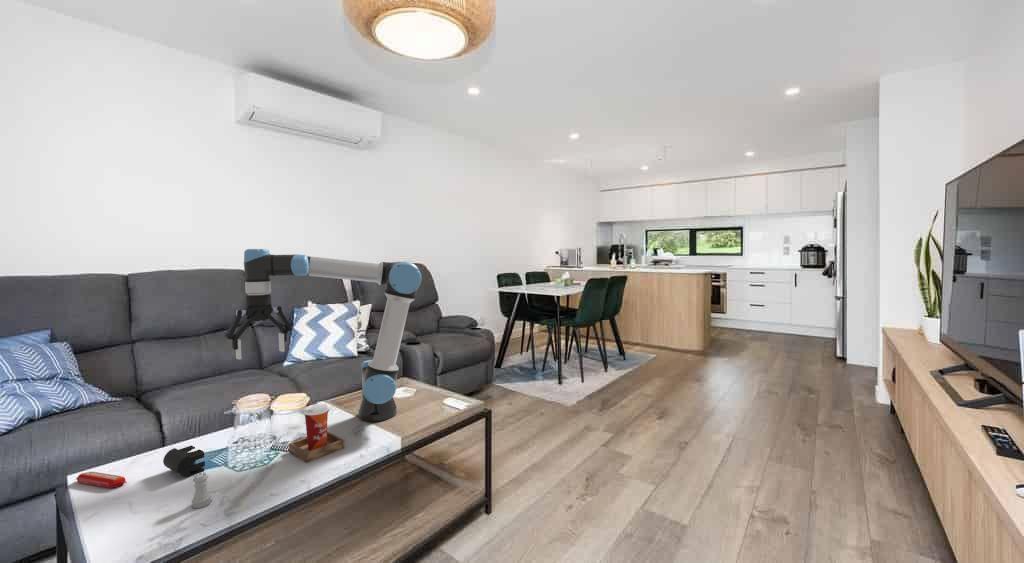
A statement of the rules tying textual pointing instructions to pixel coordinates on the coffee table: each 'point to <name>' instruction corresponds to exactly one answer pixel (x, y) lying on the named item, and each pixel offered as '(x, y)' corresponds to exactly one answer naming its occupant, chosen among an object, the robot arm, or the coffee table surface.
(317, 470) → the coffee table surface
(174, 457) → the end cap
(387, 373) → the robot arm
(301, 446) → the tray
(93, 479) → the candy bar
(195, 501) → the rook chess piece
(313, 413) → the paper cup
